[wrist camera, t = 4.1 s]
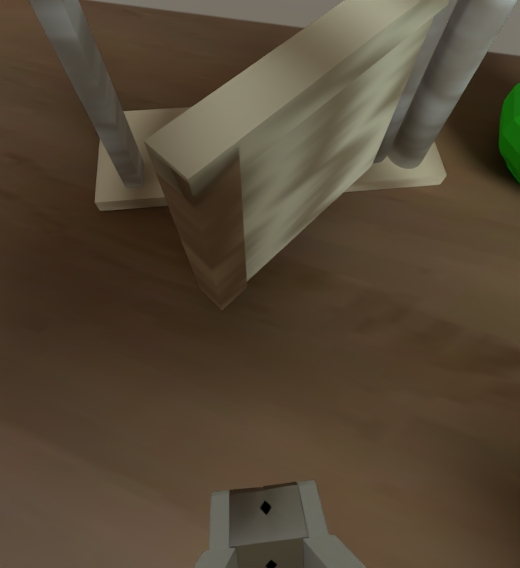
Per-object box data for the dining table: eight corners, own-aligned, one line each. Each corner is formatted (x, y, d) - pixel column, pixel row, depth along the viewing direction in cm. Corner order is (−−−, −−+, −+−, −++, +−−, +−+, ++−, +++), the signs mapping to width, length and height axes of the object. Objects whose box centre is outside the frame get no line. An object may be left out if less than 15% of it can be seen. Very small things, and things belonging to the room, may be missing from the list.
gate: (369, 136, 26) (446, -72, 16) (392, 151, 26) (488, -52, 15) (198, 287, 22) (143, 140, 11) (222, 310, 21) (188, 179, 11)
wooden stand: (411, 102, 30) (530, -155, 17) (440, 184, 27) (610, -54, 14) (107, 123, 29) (-15, -136, 16) (100, 211, 26) (-58, -21, 13)
